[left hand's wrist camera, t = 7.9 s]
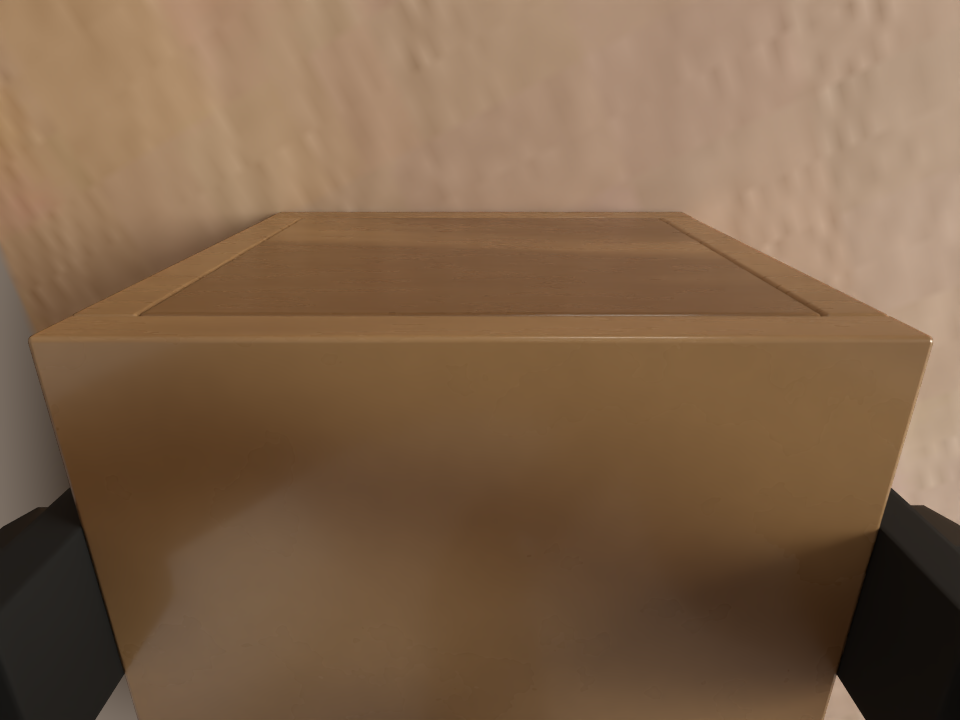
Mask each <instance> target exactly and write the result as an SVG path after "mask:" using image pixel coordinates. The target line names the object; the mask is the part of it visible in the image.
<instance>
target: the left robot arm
mask: <svg viewBox="0 0 960 720" xmlns="http://www.w3.org/2000/svg"><path fill="white" fill-rule="evenodd" d="M124 674H125V673H124V670H123V666H122V663H121V660H120V656H119V653H118V649H117V646H116V642H115V639H114V636H113V632H112V629H111V625H110V622H109V618H108V615H107V612H106V608H105V605H104V601H103V598H102V594H101V591H100V588H99V584H98V581H97V577H96V574H95V570H94V567H93V563H92V560H91V557H90V553H89V550H88V546H87V543H86V539H85V536H84V533H83V529H82V526H81V522H80V519H79V515H78V512H77V509H76V505H75V502H74V498H73V495H72V491H71V488H69V489H68V490H67V491H65V492H64V493H63V494H62V495H61V496H60V497H59V498H58V499H57V500H56V501H54V502H53V503H52V504H51V505H50V506H49V507H38V508H36V509H34V510H32V511H31V512H29V513H27V514H25V515H23V516H21V517H20V518H18V519H16V520H14V521H12V522H11V523H9V524H7V525H5V526H3V527H2V528H1V529H0V720H95V719H96V717H97V716H98V714H99V713H100V711H101V710H102V708H103V706H104V705H105V703H106V702H107V700H108V699H109V697H110V696H111V694H112V692H113V691H114V689H115V688H116V686H117V684H118V683H119V681H120V680H121V678H122V677H123V675H124ZM837 676H838V677H839V679H840V680H841V682H842V683H843V685H844V687H845V688H846V690H847V691H848V693H849V694H850V696H851V698H852V699H853V701H854V702H855V704H856V705H857V707H858V709H859V710H860V712H861V713H862V715H863V716H864V718H865V720H960V525H958V524H956V523H955V522H953V521H951V520H949V519H947V518H946V517H944V516H942V515H940V514H938V513H937V512H935V511H933V510H931V509H929V508H927V507H926V506H924V505H910V504H909V503H907V502H906V501H905V500H904V499H903V498H902V497H901V496H900V495H899V494H897V493H896V492H895V491H894V490H893V489H892V488H891V489H890V493H889V496H888V500H887V503H886V507H885V510H884V513H883V517H882V520H881V524H880V527H879V531H878V534H877V538H876V541H875V544H874V548H873V551H872V555H871V558H870V562H869V565H868V568H867V572H866V575H865V579H864V582H863V586H862V589H861V592H860V596H859V599H858V603H857V606H856V610H855V613H854V616H853V620H852V623H851V627H850V630H849V634H848V637H847V641H846V644H845V647H844V651H843V654H842V658H841V661H840V665H839V668H838V671H837Z"/></svg>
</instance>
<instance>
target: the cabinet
mask: <svg viewBox="0 0 960 720" xmlns="http://www.w3.org/2000/svg"><path fill="white" fill-rule="evenodd" d="M28 344H29V347H30V350H31V354H32V358H33V361H34V364H35V368H36V371H37V375H38V378H39V382H40V385H41V388H42V392H43V395H44V399H45V402H46V406H47V409H48V412H49V416H50V419H51V423H52V426H53V430H54V433H55V436H56V440H57V443H58V447H59V450H60V454H61V457H62V460H63V464H64V467H65V471H66V474H67V478H68V481H69V484H70V488H71V491H72V495H73V498H74V502H75V505H76V509H77V512H78V515H79V519H80V522H81V526H82V529H83V533H84V536H85V539H86V543H87V546H88V550H89V553H90V557H91V560H92V563H93V567H94V570H95V574H96V577H97V581H98V584H99V588H100V591H101V594H102V598H103V601H104V605H105V608H106V612H107V615H108V618H109V622H110V625H111V629H112V632H113V636H114V639H115V642H116V646H117V649H118V653H119V656H120V660H121V663H122V666H123V670H124V673H125V677H126V680H127V684H128V687H129V690H130V694H131V697H132V701H133V704H134V708H135V711H136V715H137V718H138V720H823V719H824V716H825V713H826V709H827V706H828V702H829V699H830V695H831V692H832V689H833V685H834V682H835V678H836V675H837V671H838V668H839V665H840V661H841V658H842V654H843V651H844V647H845V644H846V641H847V637H848V634H849V630H850V627H851V623H852V620H853V616H854V613H855V610H856V606H857V603H858V599H859V596H860V592H861V589H862V586H863V582H864V579H865V575H866V572H867V568H868V565H869V562H870V558H871V555H872V551H873V548H874V544H875V541H876V538H877V534H878V531H879V527H880V524H881V520H882V517H883V513H884V510H885V507H886V503H887V500H888V496H889V493H890V489H891V486H892V483H893V479H894V476H895V472H896V469H897V465H898V462H899V459H900V455H901V452H902V448H903V445H904V441H905V438H906V435H907V431H908V428H909V424H910V421H911V417H912V414H913V410H914V407H915V404H916V400H917V397H918V393H919V390H920V386H921V383H922V380H923V376H924V373H925V369H926V366H927V362H928V359H929V356H930V352H931V349H932V345H933V339H932V337H931V336H929V335H927V334H925V333H923V332H921V331H919V330H917V329H915V328H913V327H911V326H909V325H907V324H905V323H903V322H901V321H899V320H897V319H895V318H892V317H890V316H887V315H886V314H885V313H883V312H881V311H879V310H877V309H875V308H873V307H871V306H869V305H867V304H865V303H863V302H861V301H859V300H857V299H855V298H853V297H850V296H848V295H846V294H844V293H842V292H840V291H838V290H836V289H834V288H832V287H830V286H828V285H826V284H824V283H822V282H820V281H818V280H816V279H814V278H812V277H810V276H808V275H806V274H804V273H802V272H800V271H798V270H796V269H794V268H792V267H790V266H788V265H786V264H784V263H782V262H780V261H778V260H776V259H774V258H772V257H770V256H768V255H766V254H764V253H762V252H760V251H758V250H756V249H754V248H752V247H750V246H748V245H746V244H744V243H742V242H740V241H738V240H736V239H734V238H732V237H730V236H728V235H726V234H724V233H722V232H720V231H718V230H716V229H714V228H712V227H710V226H708V225H706V224H704V223H702V222H700V221H698V220H696V219H694V218H692V217H691V216H689V215H686V214H684V213H682V212H280V213H278V214H276V215H273V216H271V217H270V218H268V219H266V220H264V221H262V222H260V223H258V224H256V225H254V226H252V227H249V228H247V229H245V230H243V231H241V232H239V233H237V234H235V235H233V236H231V237H229V238H227V239H225V240H223V241H221V242H219V243H217V244H215V245H213V246H211V247H209V248H207V249H205V250H203V251H201V252H199V253H197V254H195V255H193V256H191V257H189V258H187V259H185V260H183V261H181V262H179V263H176V264H174V265H172V266H170V267H168V268H166V269H164V270H162V271H160V272H158V273H156V274H154V275H152V276H150V277H148V278H146V279H144V280H142V281H140V282H138V283H136V284H134V285H132V286H130V287H128V288H126V289H124V290H122V291H120V292H118V293H116V294H114V295H112V296H110V297H108V298H106V299H103V300H101V301H99V302H97V303H95V304H93V305H91V306H89V307H87V308H85V309H83V310H81V311H79V312H77V313H75V314H74V315H73V316H71V317H68V318H66V319H64V320H62V321H60V322H58V323H56V324H54V325H52V326H50V327H48V328H46V329H44V330H42V331H40V332H38V333H36V334H34V335H32V336H30V337H29V340H28Z"/></svg>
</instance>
